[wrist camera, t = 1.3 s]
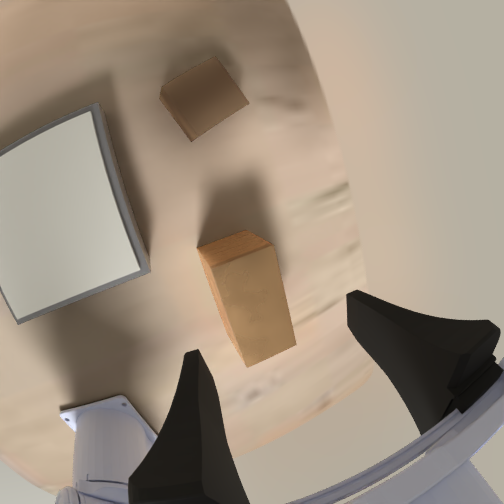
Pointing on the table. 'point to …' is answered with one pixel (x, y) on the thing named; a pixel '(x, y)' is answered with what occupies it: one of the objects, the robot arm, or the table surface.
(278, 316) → the block
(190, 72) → the walnut block
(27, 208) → the stand
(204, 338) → the table surface
